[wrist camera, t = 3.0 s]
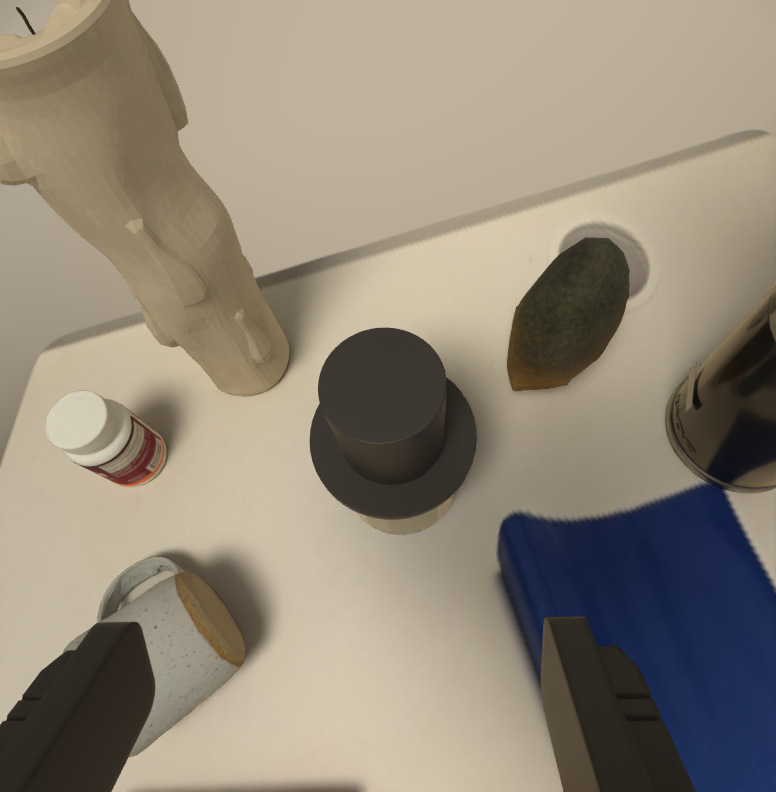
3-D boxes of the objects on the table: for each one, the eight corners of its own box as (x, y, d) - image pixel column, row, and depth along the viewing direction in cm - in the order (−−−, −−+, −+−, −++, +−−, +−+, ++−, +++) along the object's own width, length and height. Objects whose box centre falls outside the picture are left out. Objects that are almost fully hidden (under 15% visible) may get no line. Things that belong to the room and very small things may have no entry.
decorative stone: (545, 316, 47) (591, 177, 33) (610, 360, 45) (688, 232, 31) (468, 400, 44) (482, 288, 30) (533, 451, 42) (579, 355, 29)
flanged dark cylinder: (465, 369, 37) (474, 287, 29) (482, 519, 33) (498, 476, 25) (316, 380, 37) (282, 303, 29) (316, 530, 34) (276, 491, 25)
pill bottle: (96, 456, 45) (25, 416, 37) (148, 417, 46) (89, 370, 38) (127, 502, 43) (59, 470, 35) (180, 460, 44) (126, 420, 36)
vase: (202, 418, 45) (-158, 65, 18) (187, 328, 49) (-135, -84, 21) (308, 387, 46) (116, -7, 18) (286, 300, 49) (94, -142, 22)
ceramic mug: (267, 660, 38) (227, 660, 31) (159, 750, 36) (92, 771, 29) (187, 534, 42) (136, 509, 35) (87, 610, 40) (12, 599, 33)
